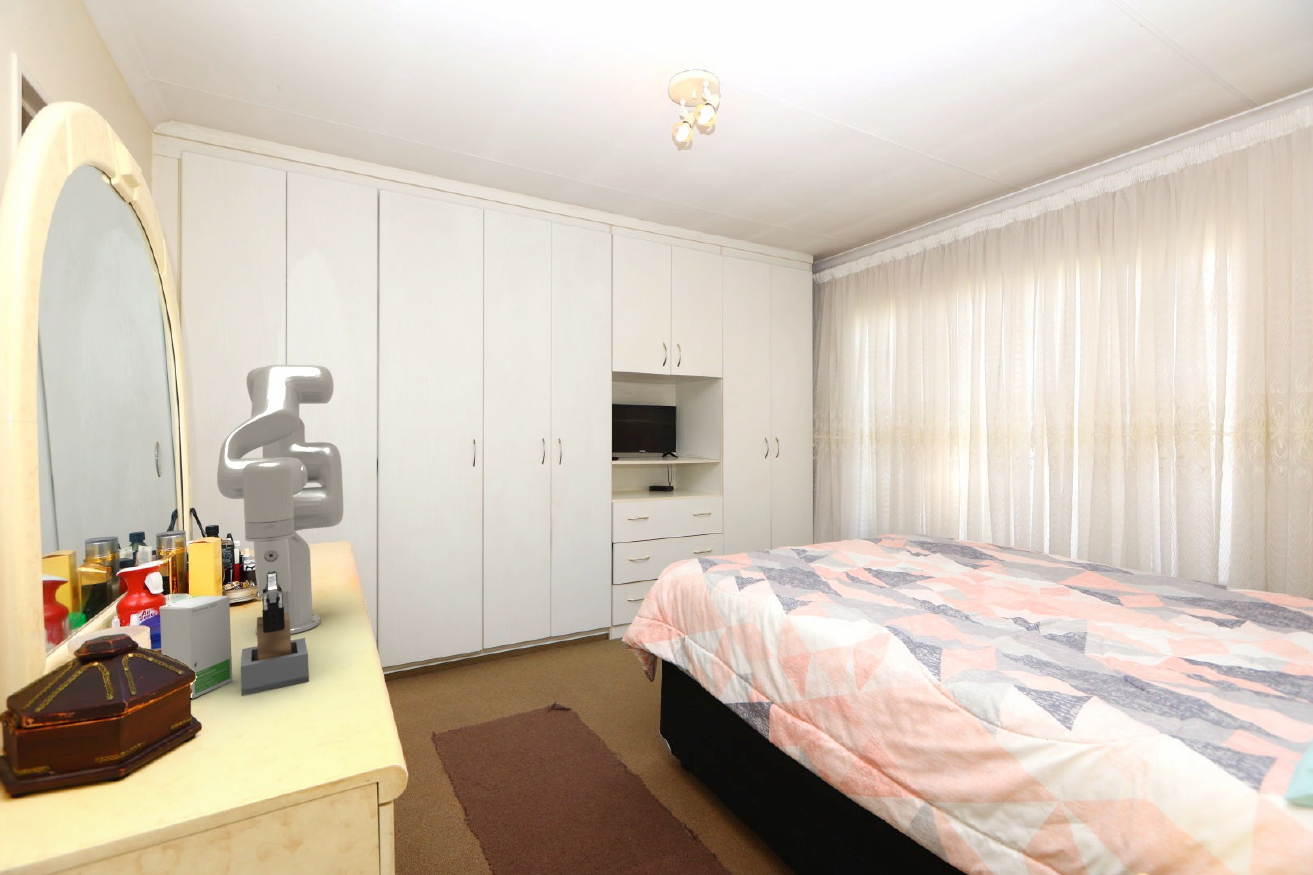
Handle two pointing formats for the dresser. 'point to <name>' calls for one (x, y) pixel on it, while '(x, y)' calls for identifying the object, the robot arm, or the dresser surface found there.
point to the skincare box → (199, 639)
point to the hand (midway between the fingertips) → (273, 623)
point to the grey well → (274, 669)
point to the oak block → (273, 640)
